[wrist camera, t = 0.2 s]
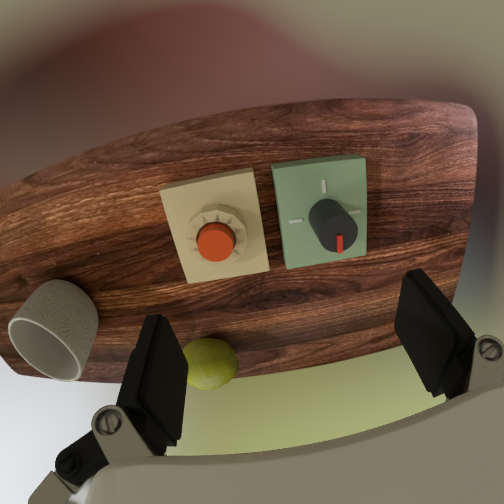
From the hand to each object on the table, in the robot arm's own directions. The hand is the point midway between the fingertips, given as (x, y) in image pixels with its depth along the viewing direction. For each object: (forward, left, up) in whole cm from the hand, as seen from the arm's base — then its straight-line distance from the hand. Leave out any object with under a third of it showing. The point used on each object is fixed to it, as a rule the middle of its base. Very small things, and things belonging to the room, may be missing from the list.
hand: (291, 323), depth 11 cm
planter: (+13, -31, -23) cm, 41 cm away
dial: (+5, +7, -20) cm, 22 cm away
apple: (+24, -11, -23) cm, 35 cm away
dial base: (+5, +7, -23) cm, 25 cm away
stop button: (+5, -5, -19) cm, 21 cm away
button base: (+5, -5, -23) cm, 24 cm away
